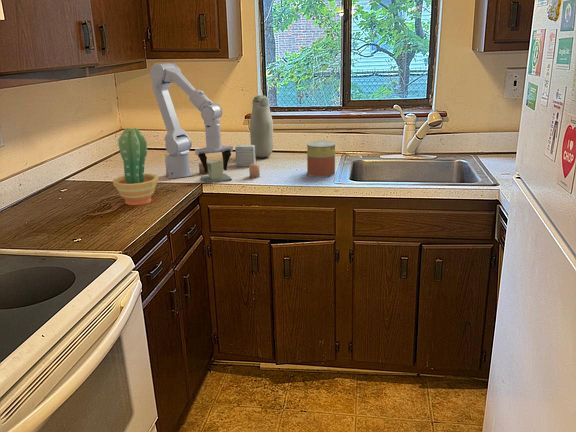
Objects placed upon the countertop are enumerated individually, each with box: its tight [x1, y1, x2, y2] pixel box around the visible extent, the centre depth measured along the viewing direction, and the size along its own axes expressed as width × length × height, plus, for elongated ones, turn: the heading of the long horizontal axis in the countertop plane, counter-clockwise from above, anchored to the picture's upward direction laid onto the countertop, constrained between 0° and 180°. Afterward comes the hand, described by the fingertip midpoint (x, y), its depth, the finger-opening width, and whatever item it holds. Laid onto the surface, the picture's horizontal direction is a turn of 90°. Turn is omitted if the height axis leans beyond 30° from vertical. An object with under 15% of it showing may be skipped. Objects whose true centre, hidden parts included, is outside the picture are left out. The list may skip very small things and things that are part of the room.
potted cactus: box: [112, 127, 159, 206], centre depth 179 cm, size 15×15×25 cm
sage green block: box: [207, 160, 224, 179], centre depth 207 cm, size 4×4×6 cm
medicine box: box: [234, 144, 257, 168], centre depth 229 cm, size 8×4×9 cm, turn 84°
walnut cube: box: [198, 161, 209, 176], centre depth 218 cm, size 4×4×4 cm
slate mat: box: [200, 173, 232, 185], centre depth 209 cm, size 10×9×1 cm
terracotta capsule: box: [248, 163, 261, 179], centre depth 211 cm, size 4×4×5 cm
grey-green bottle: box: [249, 94, 274, 159], centre depth 240 cm, size 10×10×28 cm
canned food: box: [306, 140, 336, 178], centre depth 213 cm, size 11×11×12 cm
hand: (215, 171), depth 208 cm, fingers open, 7 cm apart
